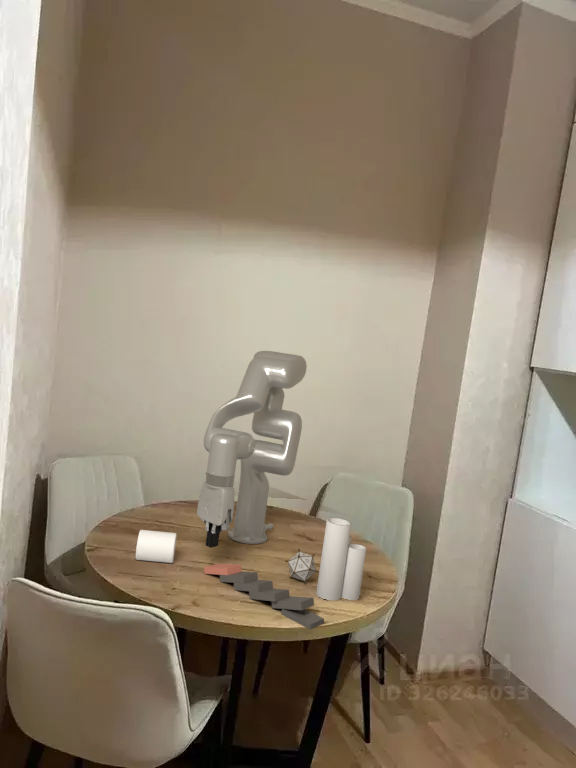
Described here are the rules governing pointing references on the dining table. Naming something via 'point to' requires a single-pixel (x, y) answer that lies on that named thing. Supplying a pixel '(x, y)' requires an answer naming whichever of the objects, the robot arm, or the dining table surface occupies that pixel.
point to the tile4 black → (270, 594)
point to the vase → (340, 563)
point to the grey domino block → (303, 617)
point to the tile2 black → (239, 577)
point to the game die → (302, 566)
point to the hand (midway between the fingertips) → (211, 545)
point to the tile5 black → (294, 603)
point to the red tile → (222, 569)
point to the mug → (156, 546)
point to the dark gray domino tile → (254, 586)
